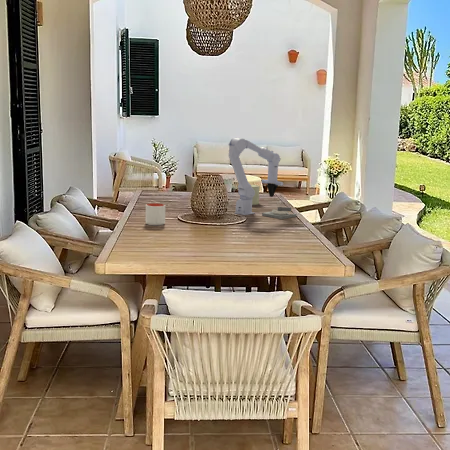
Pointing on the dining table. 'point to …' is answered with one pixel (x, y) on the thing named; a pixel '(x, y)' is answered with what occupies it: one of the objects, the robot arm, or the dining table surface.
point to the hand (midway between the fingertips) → (271, 196)
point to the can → (256, 196)
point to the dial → (281, 210)
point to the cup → (155, 214)
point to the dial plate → (288, 215)
